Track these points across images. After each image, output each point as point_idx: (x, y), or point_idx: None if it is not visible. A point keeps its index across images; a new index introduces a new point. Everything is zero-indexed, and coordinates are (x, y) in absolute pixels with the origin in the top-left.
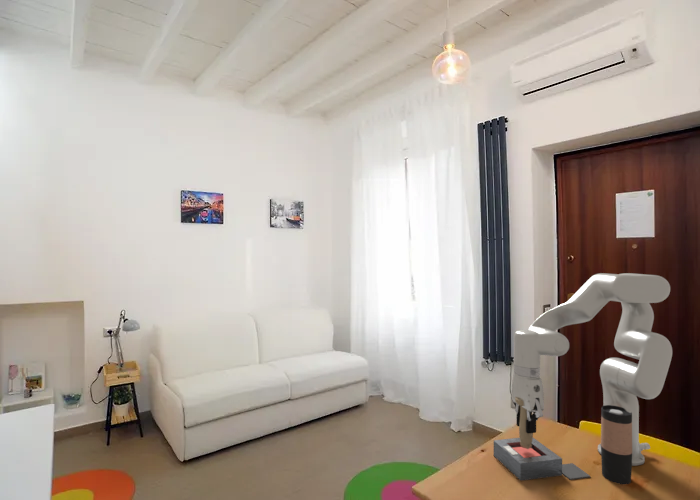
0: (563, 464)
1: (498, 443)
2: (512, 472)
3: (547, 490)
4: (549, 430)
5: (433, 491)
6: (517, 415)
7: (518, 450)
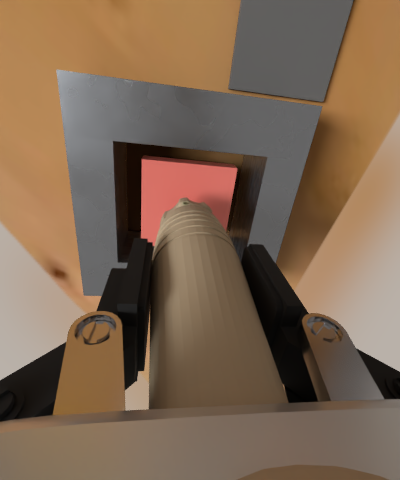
0: (240, 20)
1: None
2: None
3: (314, 225)
4: None
5: None
6: (137, 367)
7: None
